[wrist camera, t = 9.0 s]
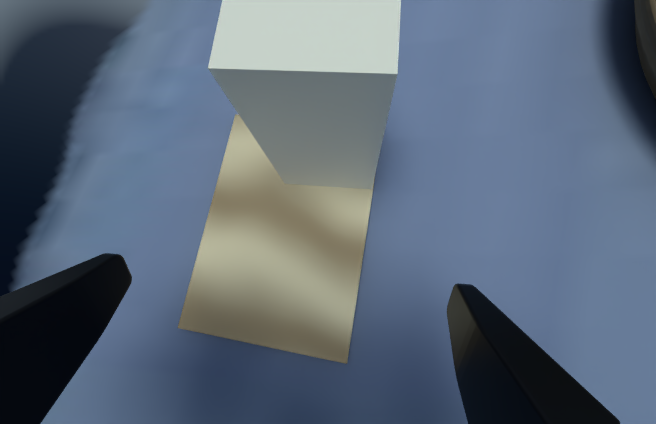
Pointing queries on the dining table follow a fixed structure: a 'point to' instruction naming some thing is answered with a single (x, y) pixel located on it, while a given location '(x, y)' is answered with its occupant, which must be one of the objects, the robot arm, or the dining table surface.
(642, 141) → the dining table surface
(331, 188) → the board
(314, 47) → the tall white cuboid
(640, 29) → the plant saucer
